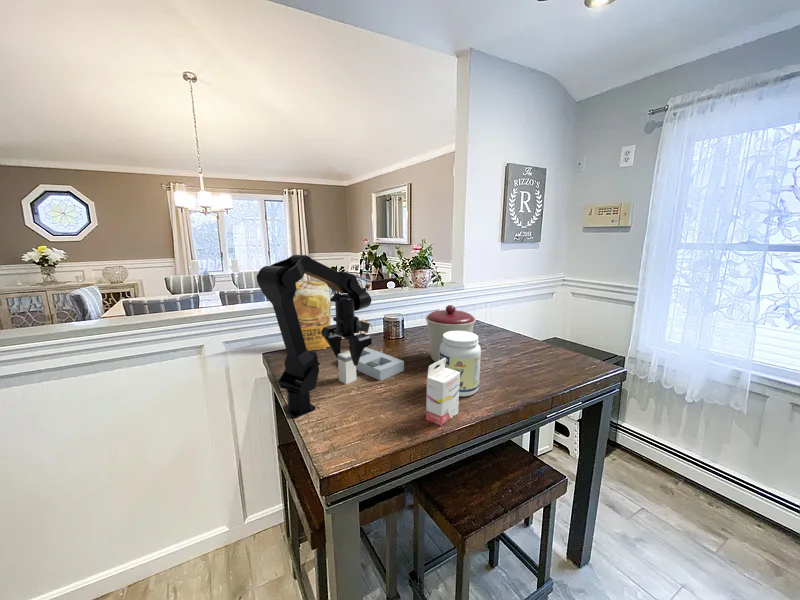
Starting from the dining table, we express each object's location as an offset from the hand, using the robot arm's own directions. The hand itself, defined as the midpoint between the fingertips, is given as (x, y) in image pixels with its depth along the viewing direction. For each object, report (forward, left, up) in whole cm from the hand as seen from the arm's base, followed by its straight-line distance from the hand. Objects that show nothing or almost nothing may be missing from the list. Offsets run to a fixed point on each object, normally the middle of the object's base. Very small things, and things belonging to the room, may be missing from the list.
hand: (346, 361), depth 105 cm
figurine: (+21, -24, -7) cm, 33 cm away
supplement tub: (-29, -20, -7) cm, 36 cm away
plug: (0, 0, -7) cm, 7 cm away
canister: (-14, -36, -7) cm, 39 cm away
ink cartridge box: (-35, -4, -7) cm, 36 cm away
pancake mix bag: (+34, -7, -7) cm, 36 cm away
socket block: (+3, -13, -7) cm, 15 cm away
